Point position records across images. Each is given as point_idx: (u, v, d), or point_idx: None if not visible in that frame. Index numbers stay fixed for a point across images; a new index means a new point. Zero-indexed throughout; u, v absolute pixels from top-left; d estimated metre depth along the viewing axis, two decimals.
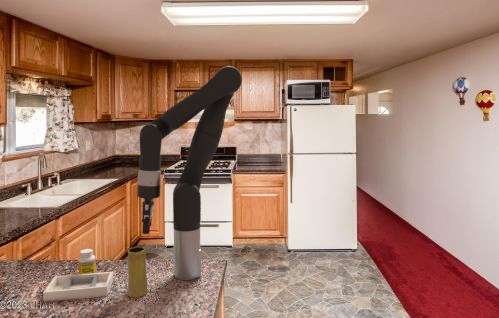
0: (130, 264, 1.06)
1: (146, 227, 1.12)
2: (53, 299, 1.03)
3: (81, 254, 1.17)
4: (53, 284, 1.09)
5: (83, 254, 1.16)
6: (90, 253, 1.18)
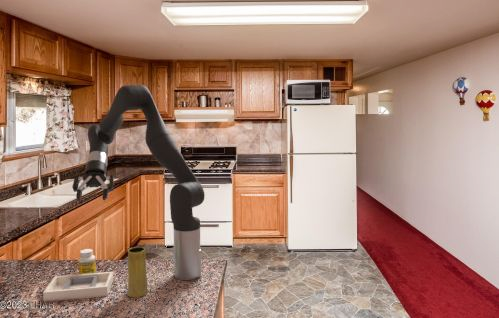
0: (130, 264, 1.06)
1: None
2: (53, 299, 1.03)
3: (81, 254, 1.17)
4: (53, 284, 1.09)
5: (83, 254, 1.16)
6: (90, 253, 1.18)
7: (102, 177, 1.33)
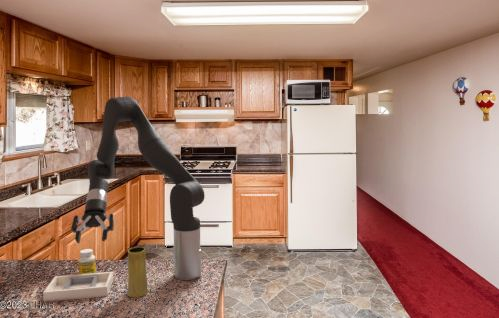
0: (130, 264, 1.06)
1: None
2: (53, 299, 1.03)
3: (81, 254, 1.17)
4: (53, 284, 1.09)
5: (83, 254, 1.16)
6: (90, 253, 1.18)
7: (102, 217, 1.30)
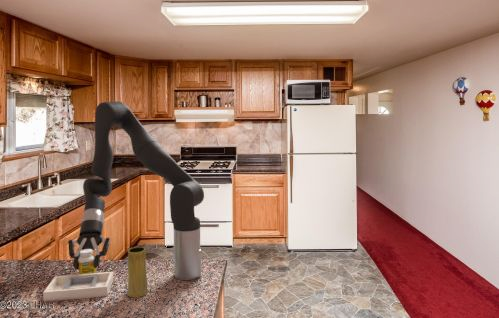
0: (130, 264, 1.06)
1: None
2: (53, 299, 1.03)
3: (81, 254, 1.17)
4: (53, 284, 1.09)
5: (83, 254, 1.16)
6: (90, 253, 1.18)
7: (97, 239, 1.23)
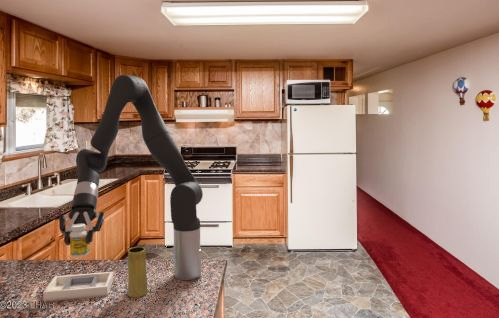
0: (130, 264, 1.06)
1: None
2: (53, 299, 1.03)
3: (72, 228, 1.07)
4: (53, 284, 1.09)
5: (75, 229, 1.07)
6: (82, 227, 1.08)
7: (91, 213, 1.13)
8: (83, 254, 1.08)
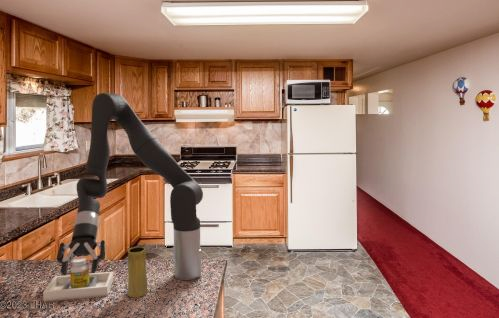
0: (130, 264, 1.06)
1: None
2: (53, 299, 1.03)
3: (73, 263, 1.07)
4: (53, 284, 1.09)
5: (76, 264, 1.07)
6: (83, 262, 1.08)
7: (92, 244, 1.14)
8: None
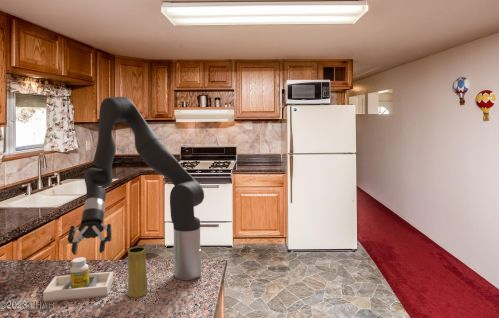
0: (130, 264, 1.06)
1: None
2: (53, 299, 1.03)
3: (73, 263, 1.07)
4: (53, 284, 1.09)
5: (76, 264, 1.07)
6: (83, 262, 1.08)
7: (99, 227, 1.26)
8: None
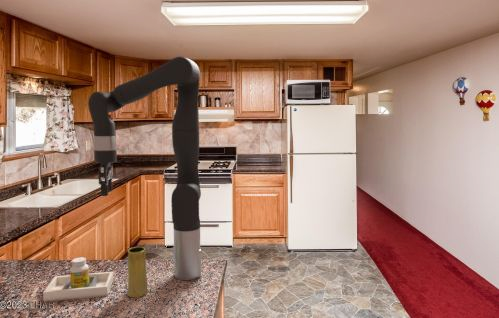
0: (130, 264, 1.06)
1: (104, 189, 1.19)
2: (53, 299, 1.03)
3: (73, 263, 1.07)
4: (53, 284, 1.09)
5: (76, 264, 1.07)
6: (83, 262, 1.08)
7: (110, 166, 1.27)
8: None
